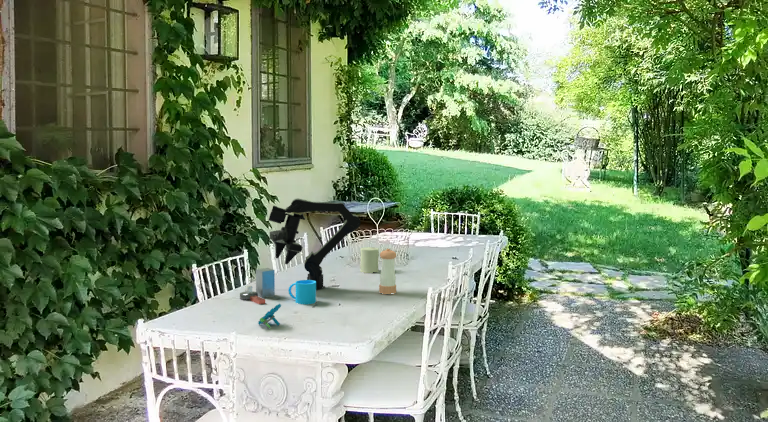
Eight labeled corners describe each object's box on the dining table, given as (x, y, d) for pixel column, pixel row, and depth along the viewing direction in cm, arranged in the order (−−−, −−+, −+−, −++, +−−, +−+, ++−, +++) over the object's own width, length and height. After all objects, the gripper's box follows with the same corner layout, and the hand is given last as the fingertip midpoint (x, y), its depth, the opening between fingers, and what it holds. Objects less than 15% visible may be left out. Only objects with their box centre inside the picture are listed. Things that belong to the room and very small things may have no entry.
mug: (319, 300, 261) (319, 281, 260) (309, 305, 253) (309, 284, 252) (293, 297, 265) (293, 278, 264) (283, 302, 258) (283, 282, 257)
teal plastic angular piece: (267, 315, 232) (283, 298, 227) (278, 327, 231) (294, 311, 227) (250, 326, 222) (265, 310, 217) (261, 339, 221) (277, 323, 217)
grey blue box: (268, 293, 272) (267, 267, 271) (274, 296, 267) (274, 270, 266) (256, 295, 268) (255, 269, 267) (262, 298, 264) (262, 271, 263)
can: (382, 271, 323) (382, 247, 322) (371, 274, 315) (372, 249, 314) (366, 269, 328) (367, 245, 327) (356, 271, 320) (356, 248, 319)
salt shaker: (398, 292, 277) (399, 248, 275) (391, 295, 270) (392, 250, 269) (383, 290, 280) (384, 246, 278) (376, 293, 274) (376, 249, 272)
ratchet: (252, 295, 268) (252, 283, 268) (270, 302, 256) (270, 290, 256) (236, 297, 264) (236, 285, 263) (254, 305, 252) (253, 292, 251)
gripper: (265, 218, 281) (255, 252, 282) (284, 228, 267) (274, 264, 268) (287, 223, 288) (278, 256, 289) (307, 233, 273) (297, 268, 274)
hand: (281, 261), depth 280 cm, fingers open, 9 cm apart
